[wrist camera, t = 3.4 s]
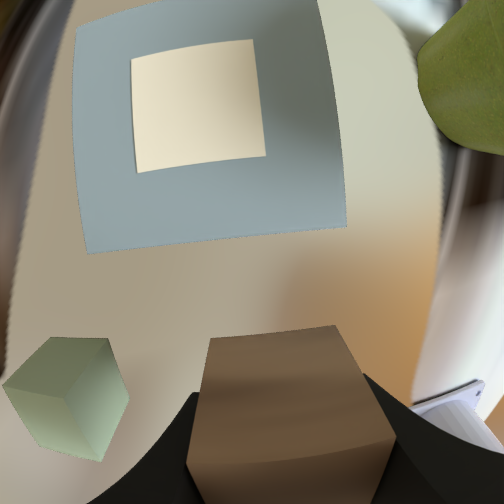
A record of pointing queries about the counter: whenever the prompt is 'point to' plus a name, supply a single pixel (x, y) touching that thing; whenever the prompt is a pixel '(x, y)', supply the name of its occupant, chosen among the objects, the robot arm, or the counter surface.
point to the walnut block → (287, 422)
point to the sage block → (70, 396)
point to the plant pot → (467, 76)
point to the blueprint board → (205, 124)
